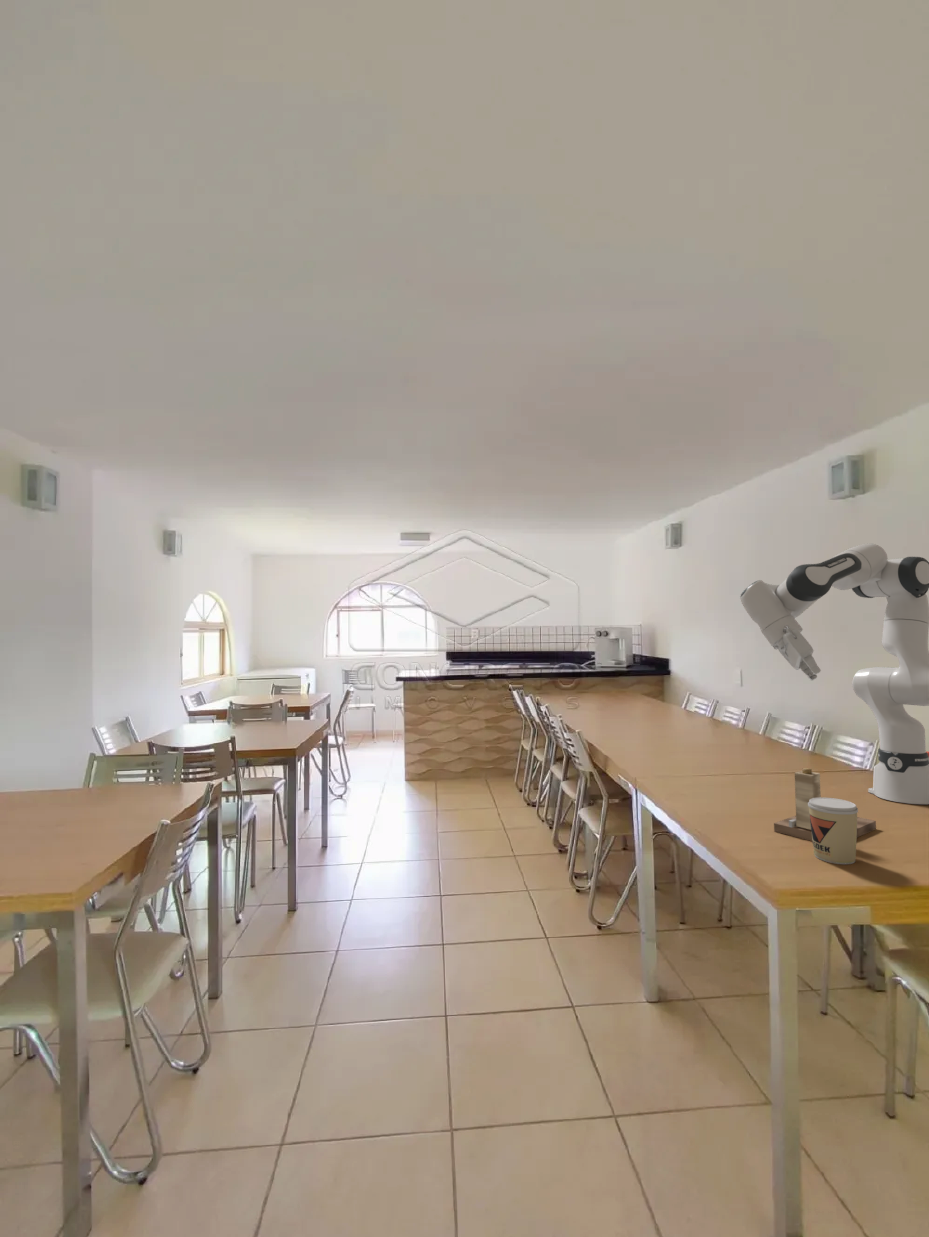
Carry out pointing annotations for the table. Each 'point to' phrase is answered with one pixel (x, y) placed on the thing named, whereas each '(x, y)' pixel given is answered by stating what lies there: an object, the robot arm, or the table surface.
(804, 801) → the beige tall block
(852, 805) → the coffee cup
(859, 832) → the board
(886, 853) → the table surface
